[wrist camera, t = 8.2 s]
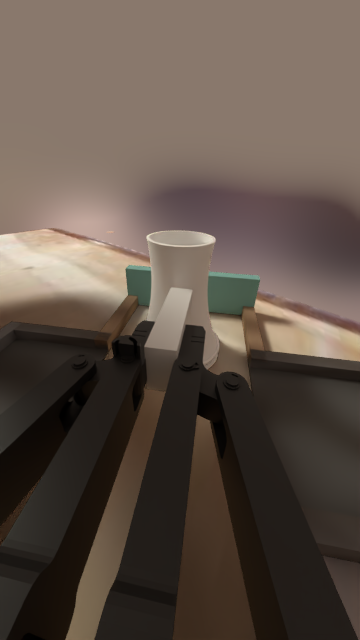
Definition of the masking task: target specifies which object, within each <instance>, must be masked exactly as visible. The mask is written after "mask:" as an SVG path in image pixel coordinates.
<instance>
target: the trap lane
mask: <svg viewBox="0 0 360 640" xmlns="http://www.w3.org/2000/svg"><path fill="white" fill-rule="evenodd" d="M137 306H138V296H133V295H128V296H127V297H126V298H125V300H124V301H123V302H122V304H121V305H120V306H119V308H118V309H117V310H116V311H115V313H114V314H113V315H112V317H111V318H110V319H109V321H108V322H107V323H106V324H105V326H104V327H103V328H102V330H101V331H100V332H99V331H90V330H81V329H73V328H64V327H55V326H47V325H38V324H29V323H21V322H12V321H11V322H10V323H8V324H7V325H5V326H4V327H3V328H1V329H0V415H1V414H2V413H3V412H4V411H5V410H7V409H8V408H9V407H10V406H12V405H13V404H14V403H15V402H16V401H18V400H19V399H20V398H21V397H23V396H24V395H25V394H26V393H28V392H29V391H30V390H31V389H32V388H34V387H35V386H36V385H37V384H39V383H40V382H41V381H42V380H44V379H45V378H46V377H47V376H48V375H50V374H51V373H52V372H53V371H55V370H56V369H57V368H58V367H59V366H61V365H62V364H63V363H64V362H66V361H67V360H68V359H70V358H71V357H73V356H75V355H78V354H90V355H92V356H93V357H94V358H95V361H102V360H104V358H105V357H106V355H107V354H108V352H109V350H110V349H111V347H112V343H111V342H112V341H113V340H114V339H116V338H118V336H119V335H120V333H121V331H122V330H123V328H124V327H125V325H126V324H127V322H128V320H129V319H130V317H131V316H132V314H133V313H134V311H135V309H136V308H137ZM241 316H242V323H243V330H244V337H245V344H246V351H247V358H248V365H249V372H250V379H251V386H252V393H253V397H254V399H255V401H256V404H257V406H258V408H259V411H260V413H261V415H262V418H263V420H264V422H265V425H266V427H267V429H268V432H269V434H270V436H271V439H272V441H273V443H274V446H275V448H276V450H277V453H278V455H279V457H280V459H281V462H282V464H283V466H284V469H285V471H286V473H287V476H288V478H289V480H290V483H291V485H292V487H293V490H294V492H295V494H296V497H297V499H298V501H299V504H300V506H301V508H302V510H303V513H304V515H305V517H306V520H307V522H308V524H309V527H310V529H311V531H312V534H313V536H314V538H315V541H316V543H317V545H318V548H319V550H320V552H321V555H324V556H329V557H334V558H339V559H344V560H348V561H353V562H358V563H360V362H359V361H350V360H341V359H333V358H324V357H315V356H307V355H298V354H289V353H281V352H272V351H265V350H264V346H263V342H262V338H261V334H260V330H259V326H258V322H257V318H256V314H255V309H254V307H247V306H243V309H242V314H241Z"/></svg>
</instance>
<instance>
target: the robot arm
mask: <svg viewBox="0 0 360 640" xmlns="http://www.w3.org/2000/svg"><path fill="white" fill-rule="evenodd" d="M192 293H193V289H183V288H172V287H171V289H170V291H169V293H168V295H167V297H166V300H165V302H164V304H163V306H162V308H161V311H160V313H159V315H158V317H157V319H156V322H154V321H145V320H144V321H142V322H141V323H139V324H138V325H137V327H136V329H135V331H134V332H133V334H132V336H130V335H125V336H120V337H118V338H116V339H114V340H113V341H112V342H111V343H112V349H113V355H114V356H113V358H112V359H109V360H102V361H95V358H94V357H93V356H92V355H90V354H78V355H75V356H73V357H71V358H70V359H68V360H67V361H66V362H64V363H63V364H62V365H61V366H59V367H58V368H57V369H56V370H55V371H53V372H52V373H51V374H50V375H48V376H47V377H46V378H45V379H44V380H42V381H41V382H40V383H39V384H37V385H36V386H35V387H34V388H32V389H31V390H30V391H29V392H28V393H26V394H25V395H24V396H23V397H21V398H20V399H19V400H18V401H16V402H15V403H14V404H13V405H12V406H10V407H9V408H8V409H7V410H5V411H4V412H3V413H2V414H1V415H0V526H1V524H2V523H3V522H4V521H5V520H6V518H7V517H8V516H9V515H10V514H11V512H12V511H13V510H14V509H15V508H16V506H17V505H18V504H19V503H20V502H21V500H22V499H23V498H24V497H25V496H26V495H27V493H28V492H29V491H30V490H31V489H32V487H33V486H34V485H35V484H36V483H37V481H38V480H39V479H40V478H41V477H42V478H41V479H40V481H39V483H38V485H37V486H36V488H35V490H34V491H33V493H32V495H31V496H30V498H29V500H28V501H27V503H26V505H25V506H24V508H23V510H22V512H21V513H20V515H19V517H18V518H17V520H16V522H15V523H14V525H13V527H12V528H11V530H10V532H9V533H8V535H7V537H6V538H5V540H4V541H3V543H2V544H1V546H0V640H65V639H66V636H67V633H68V630H69V627H70V624H71V620H72V617H73V613H74V608H75V602H76V594H77V589H78V585H79V582H80V579H81V576H82V573H83V570H84V568H85V565H86V562H87V559H88V556H89V553H90V550H91V547H92V545H93V542H94V539H95V536H96V533H97V530H98V527H99V525H100V522H101V519H102V516H103V513H104V510H105V507H106V504H107V502H108V499H109V496H110V493H111V490H112V487H113V484H114V482H115V479H116V476H117V473H118V470H119V467H120V464H121V461H122V459H123V456H124V453H125V450H126V447H127V444H128V441H129V439H130V436H131V433H132V430H133V427H134V424H135V421H136V418H137V416H138V413H139V410H140V407H141V404H142V401H143V398H144V387H145V384H147V389H152V390H159V391H166V393H165V397H164V400H163V404H162V408H161V412H160V416H159V419H158V423H157V427H156V431H155V435H154V438H153V442H152V446H151V450H150V454H149V457H148V461H147V465H146V469H145V473H144V476H143V480H142V484H141V488H140V491H139V495H138V499H137V503H136V507H135V510H134V514H133V518H132V522H131V526H130V529H129V533H128V537H127V541H126V545H125V548H124V552H123V556H122V560H121V564H120V567H119V571H118V574H117V577H116V579H115V581H114V583H113V585H112V587H111V589H110V591H109V594H108V597H107V599H106V602H105V605H104V609H103V612H102V615H101V619H100V622H99V626H98V629H97V633H96V637H95V640H172V637H173V628H174V619H175V610H176V601H177V591H178V582H179V573H180V564H181V555H182V546H183V537H184V527H185V518H186V509H187V500H188V491H189V482H190V473H191V463H192V454H193V445H194V436H195V427H196V418H197V415H199V416H201V417H203V418H205V419H207V420H210V424H211V429H212V433H213V438H214V443H215V447H216V452H217V457H218V461H219V466H220V471H221V475H222V480H223V485H224V489H225V494H226V499H227V503H228V508H229V513H230V517H231V522H232V527H233V531H234V536H235V541H236V545H237V550H238V555H239V559H240V564H241V569H242V573H243V578H244V583H245V587H246V592H247V597H248V601H249V606H250V611H251V615H252V620H253V625H254V629H255V634H256V639H257V640H358V638H357V636H356V633H355V631H354V629H353V626H352V624H351V622H350V620H349V617H348V615H347V613H346V610H345V608H344V606H343V603H342V601H341V599H340V596H339V594H338V592H337V589H336V587H335V585H334V582H333V580H332V578H331V575H330V573H329V571H328V568H327V566H326V564H325V562H324V559H323V557H322V555H321V552H320V550H319V548H318V545H317V543H316V541H315V538H314V536H313V534H312V531H311V529H310V527H309V524H308V522H307V520H306V517H305V515H304V513H303V510H302V508H301V506H300V504H299V501H298V499H297V497H296V494H295V492H294V490H293V487H292V485H291V483H290V480H289V478H288V476H287V473H286V471H285V469H284V466H283V464H282V462H281V459H280V457H279V455H278V453H277V450H276V448H275V446H274V443H273V441H272V439H271V436H270V434H269V432H268V429H267V427H266V425H265V422H264V420H263V418H262V415H261V413H260V411H259V408H258V406H257V404H256V401H255V399H254V397H253V395H252V392H251V390H250V388H249V385H248V383H247V381H246V380H245V378H244V377H242V376H241V375H240V374H237V373H234V372H224V373H221V374H220V375H216V374H213V373H211V372H210V371H208V370H207V369H206V368H205V367H204V365H203V353H204V343H205V334H206V331H205V329H204V328H203V326H196V325H190V323H191V309H192ZM42 475H43V476H42Z"/></svg>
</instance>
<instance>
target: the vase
mask: <svg viewBox="0 0 360 640" xmlns="http://www.w3.org/2000/svg"><path fill="white" fill-rule="evenodd" d="M147 242H148V248H149V254H150V262H151V279H152V280H151V299H150V306H149V311H148V315H147V319H146V321H154V322H156V319H157V317H158V315H159V313H160V311H161V308H162V306H163V304H164V302H165V300H166V297H167V295H168V293H169V291H170V289H171V287H172V288H183V289H193V293H192V309H191V323H190V325H196V326H203V328H204V329H205V331H206V334H205V343H204V353H203V365H204V367H205V368H206V369H207V370H208V369H209V368H210V367H211V366H212V365H213V364H214V363H215V361H216V360H217V357H218V351H219V345H220V343H219V339H218V336H217V335H216V333H215V332H214V331H213V329H212V326H211V321H210V316H209V310H208V276H209V268H210V262H211V257H212V252H213V248H214V244H215V238H214V237H213V236H211V235H208V234H205V233H200V232H193V231H177V230H175V231H160V232H155V233H152V234H149V235H148V236H147Z"/></svg>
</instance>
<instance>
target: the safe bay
mask: <svg viewBox="0 0 360 640" xmlns="http://www.w3.org/2000/svg"><path fill="white" fill-rule="evenodd" d="M126 279H127V289H128V295H133V296H138V305H146V306H150V299H151V280H152V279H151V267H145V266H133V265H129V266H128V267H127V268H126ZM259 282H260V279H259V276H255V275H243V274H231V273H218V272H209V276H208V310H209V312H215V313H225V314H235V315H241V314H242V309H243V306H247V307H254V305H255V300H256V296H257V291H258V287H259Z"/></svg>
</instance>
